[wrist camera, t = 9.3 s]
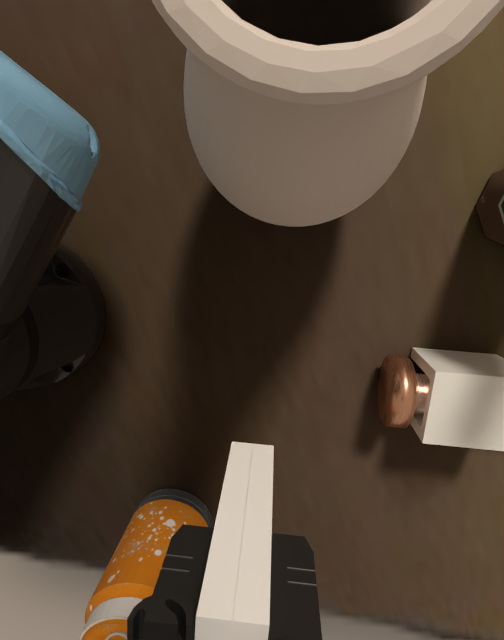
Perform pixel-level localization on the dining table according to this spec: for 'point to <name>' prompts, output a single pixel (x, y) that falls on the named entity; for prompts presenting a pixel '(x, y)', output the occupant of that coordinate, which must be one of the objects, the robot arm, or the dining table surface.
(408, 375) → the bolt
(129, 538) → the canister
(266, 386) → the dining table surface
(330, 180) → the vase
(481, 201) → the beer bottle
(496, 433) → the sleeve
